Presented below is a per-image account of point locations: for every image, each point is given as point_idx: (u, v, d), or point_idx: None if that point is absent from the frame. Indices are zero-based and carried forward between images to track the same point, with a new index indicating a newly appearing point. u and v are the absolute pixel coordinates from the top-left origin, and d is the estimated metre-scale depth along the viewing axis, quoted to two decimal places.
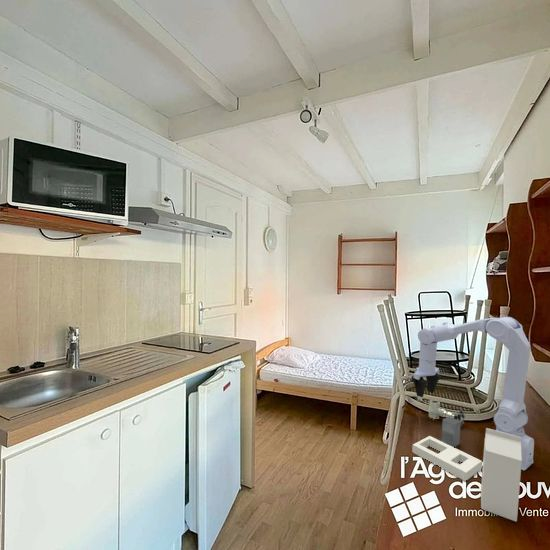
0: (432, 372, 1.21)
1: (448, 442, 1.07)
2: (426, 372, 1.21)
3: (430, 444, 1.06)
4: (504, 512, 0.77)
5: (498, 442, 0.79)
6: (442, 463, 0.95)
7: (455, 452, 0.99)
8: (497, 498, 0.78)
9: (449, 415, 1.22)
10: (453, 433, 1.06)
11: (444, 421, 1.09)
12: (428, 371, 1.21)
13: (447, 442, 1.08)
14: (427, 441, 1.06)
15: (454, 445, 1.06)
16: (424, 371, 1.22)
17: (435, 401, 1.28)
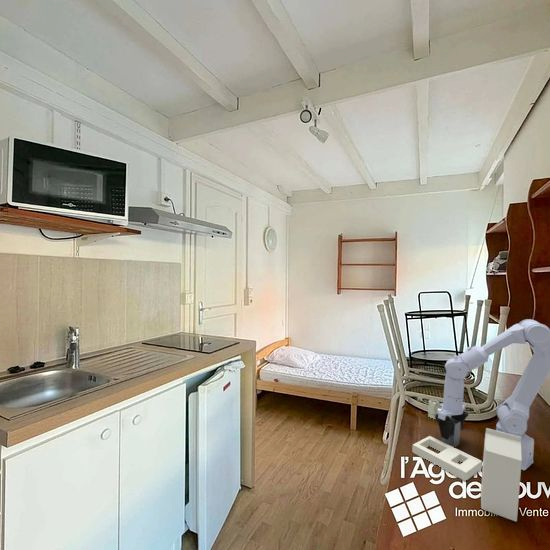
0: (459, 411, 1.06)
1: (448, 442, 1.07)
2: (452, 411, 1.06)
3: (430, 444, 1.06)
4: (504, 512, 0.77)
5: (498, 442, 0.79)
6: (442, 463, 0.95)
7: (455, 452, 0.99)
8: (497, 498, 0.78)
9: None
10: (453, 433, 1.06)
11: None
12: (455, 410, 1.06)
13: (447, 442, 1.08)
14: (427, 441, 1.06)
15: (454, 445, 1.06)
16: (450, 409, 1.06)
17: (434, 401, 1.28)
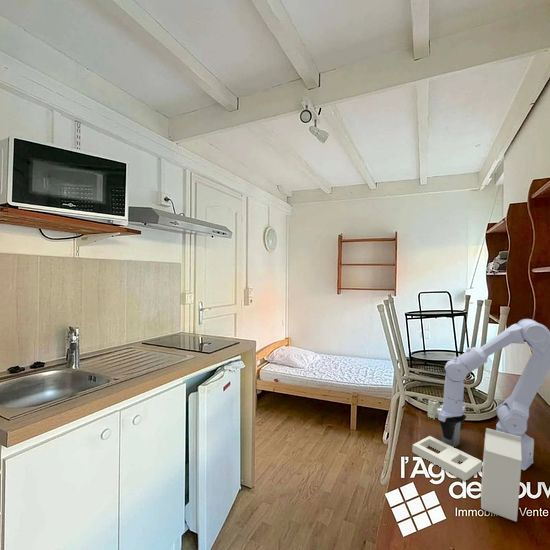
0: (459, 412, 1.06)
1: (448, 442, 1.07)
2: (452, 412, 1.06)
3: (430, 444, 1.06)
4: (504, 512, 0.77)
5: (498, 442, 0.79)
6: (442, 463, 0.95)
7: (455, 452, 0.99)
8: (497, 498, 0.78)
9: None
10: (453, 433, 1.06)
11: None
12: (455, 411, 1.06)
13: (447, 442, 1.08)
14: (427, 441, 1.06)
15: (454, 445, 1.06)
16: (450, 411, 1.06)
17: (434, 400, 1.28)
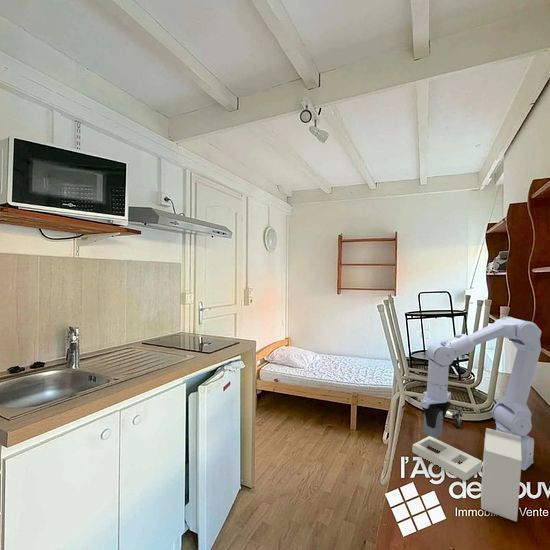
0: (443, 399, 0.99)
1: (430, 432, 1.01)
2: (436, 399, 0.99)
3: (430, 444, 1.06)
4: (504, 512, 0.77)
5: (498, 442, 0.79)
6: (442, 463, 0.95)
7: (455, 452, 0.99)
8: (497, 498, 0.78)
9: (447, 414, 1.23)
10: None
11: None
12: (438, 398, 0.99)
13: (429, 432, 1.01)
14: (427, 441, 1.06)
15: (436, 435, 1.00)
16: (433, 397, 1.00)
17: None
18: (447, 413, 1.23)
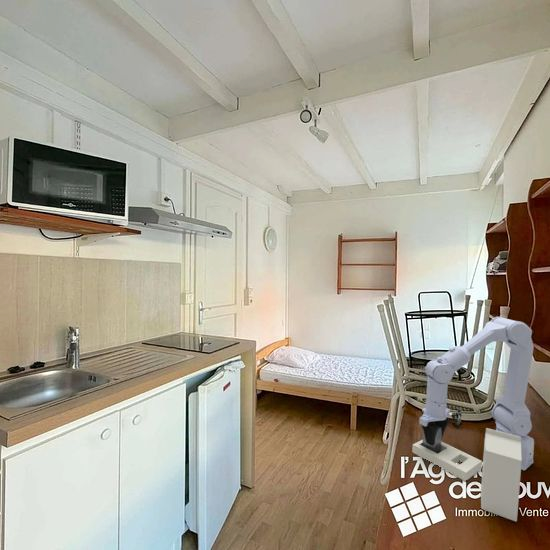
0: (442, 416, 0.99)
1: (429, 449, 1.01)
2: (435, 416, 0.99)
3: None
4: (504, 512, 0.77)
5: (498, 442, 0.79)
6: (442, 463, 0.95)
7: (455, 452, 0.99)
8: (497, 498, 0.78)
9: None
10: None
11: None
12: (437, 415, 0.99)
13: None
14: None
15: (435, 452, 1.00)
16: (432, 415, 1.00)
17: None
18: None
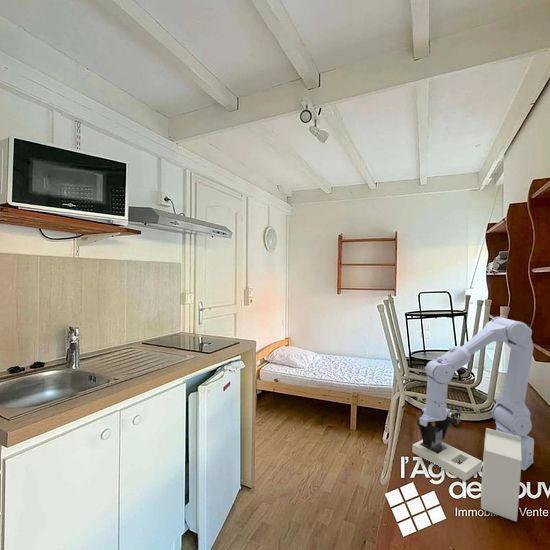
0: (442, 416, 0.99)
1: None
2: (435, 416, 0.99)
3: None
4: (504, 512, 0.77)
5: (498, 442, 0.79)
6: (442, 463, 0.95)
7: (455, 452, 0.99)
8: (497, 498, 0.78)
9: None
10: (434, 442, 1.00)
11: None
12: (437, 415, 0.99)
13: None
14: None
15: None
16: (432, 415, 1.00)
17: None
18: None
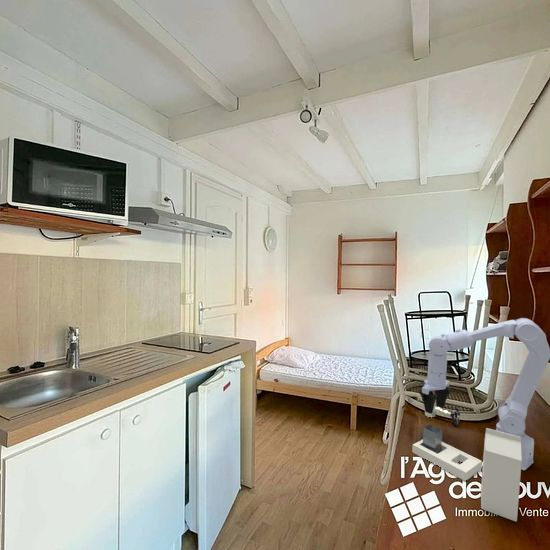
0: (442, 386, 1.10)
1: None
2: (436, 386, 1.10)
3: None
4: (504, 512, 0.77)
5: (498, 442, 0.79)
6: (442, 463, 0.95)
7: (455, 452, 0.99)
8: (497, 498, 0.78)
9: (445, 413, 1.24)
10: (434, 442, 1.00)
11: (425, 429, 1.02)
12: (438, 385, 1.10)
13: None
14: None
15: None
16: (433, 385, 1.10)
17: None
18: (445, 412, 1.24)
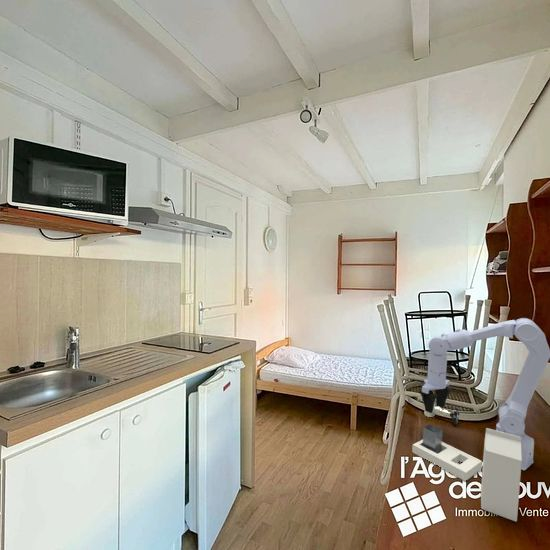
0: (442, 385, 1.10)
1: None
2: (436, 385, 1.10)
3: None
4: (504, 512, 0.77)
5: (498, 442, 0.79)
6: (442, 463, 0.95)
7: (455, 452, 0.99)
8: (497, 498, 0.78)
9: (445, 412, 1.24)
10: (434, 442, 1.00)
11: (425, 429, 1.03)
12: (438, 384, 1.10)
13: None
14: None
15: None
16: (433, 384, 1.11)
17: None
18: (445, 412, 1.24)
